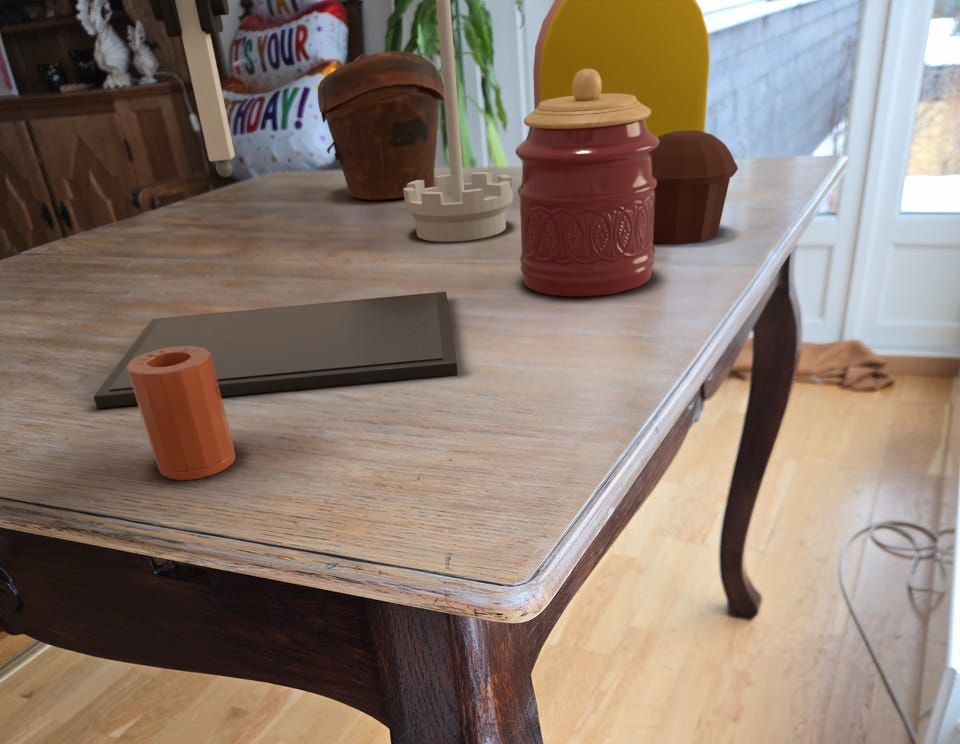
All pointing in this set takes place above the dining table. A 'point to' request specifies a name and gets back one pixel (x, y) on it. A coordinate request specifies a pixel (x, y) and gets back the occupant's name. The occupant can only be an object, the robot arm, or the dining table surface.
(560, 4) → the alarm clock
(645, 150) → the kitchen canister
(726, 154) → the muffin
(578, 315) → the dining table surface
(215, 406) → the pen pot
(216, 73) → the stylus
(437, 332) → the tablet
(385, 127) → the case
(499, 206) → the flag stand
